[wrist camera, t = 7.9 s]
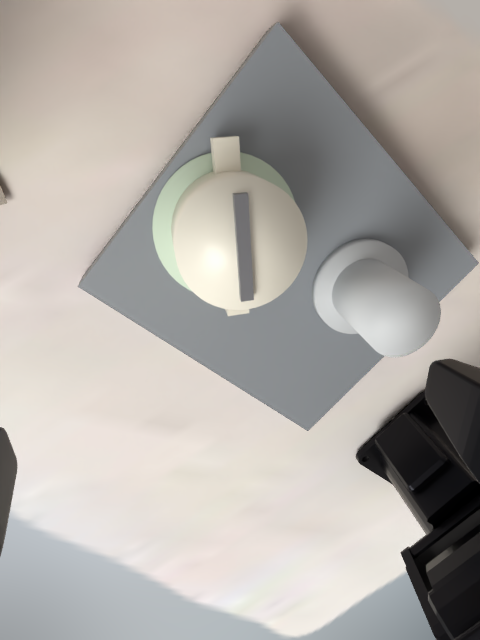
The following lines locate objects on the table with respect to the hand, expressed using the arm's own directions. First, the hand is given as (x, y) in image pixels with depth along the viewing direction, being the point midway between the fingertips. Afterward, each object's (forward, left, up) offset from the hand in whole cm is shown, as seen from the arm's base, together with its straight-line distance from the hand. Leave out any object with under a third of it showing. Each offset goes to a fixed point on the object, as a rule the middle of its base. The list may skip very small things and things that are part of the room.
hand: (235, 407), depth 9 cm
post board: (-4, -2, -12) cm, 13 cm away
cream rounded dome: (-1, -2, -11) cm, 11 cm away
